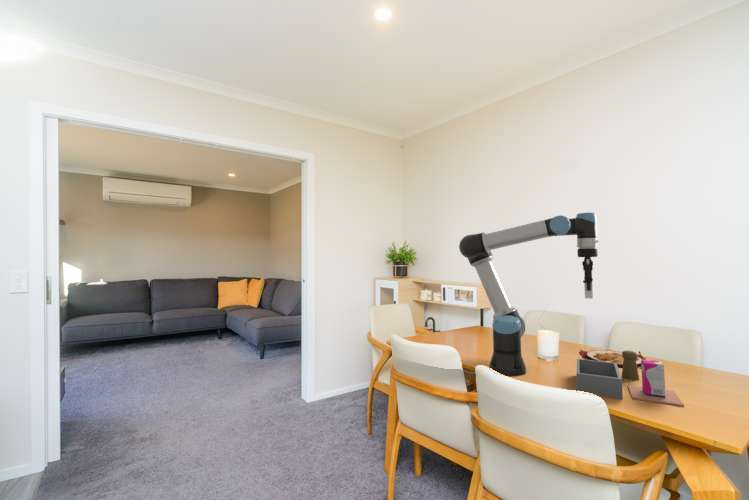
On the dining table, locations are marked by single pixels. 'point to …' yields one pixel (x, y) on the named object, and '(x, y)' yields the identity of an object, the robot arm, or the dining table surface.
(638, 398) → the mat
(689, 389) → the dining table surface
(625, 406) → the dining table surface
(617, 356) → the plate with food
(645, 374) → the supplement box
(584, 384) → the rectangular frame
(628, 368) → the cork
